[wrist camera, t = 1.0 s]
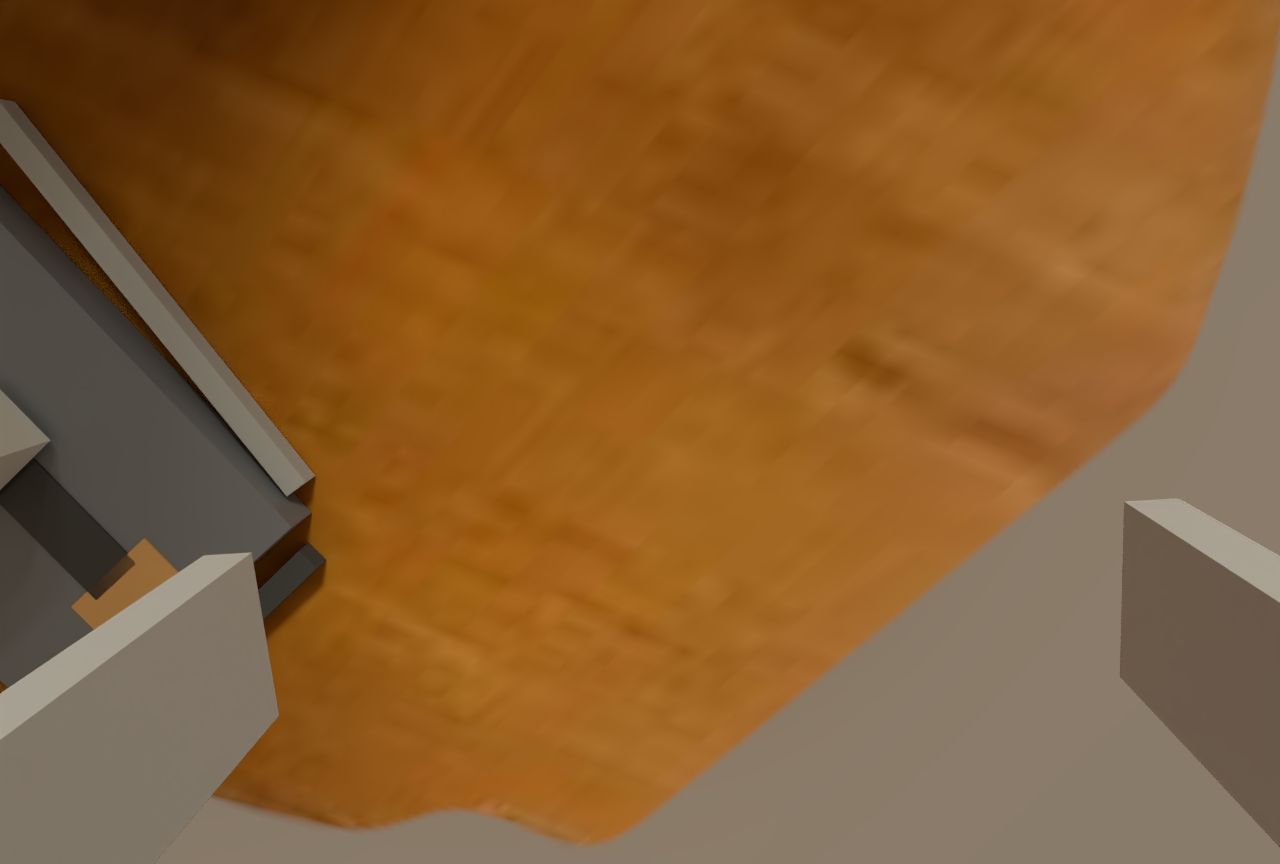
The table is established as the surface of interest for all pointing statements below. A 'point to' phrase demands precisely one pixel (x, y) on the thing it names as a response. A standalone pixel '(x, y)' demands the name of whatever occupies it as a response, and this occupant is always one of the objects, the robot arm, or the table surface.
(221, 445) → the grey flat rectangular block
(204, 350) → the bar
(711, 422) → the table surface
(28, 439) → the lever
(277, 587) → the bar
